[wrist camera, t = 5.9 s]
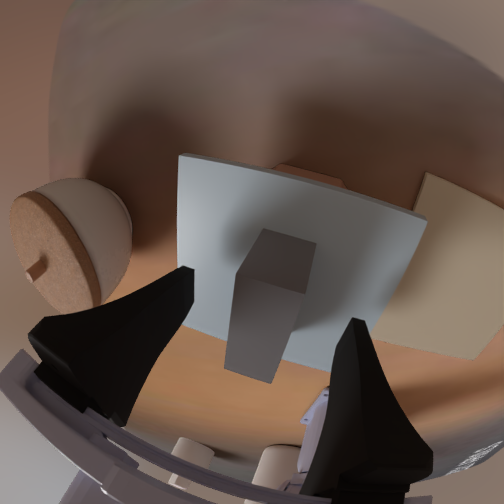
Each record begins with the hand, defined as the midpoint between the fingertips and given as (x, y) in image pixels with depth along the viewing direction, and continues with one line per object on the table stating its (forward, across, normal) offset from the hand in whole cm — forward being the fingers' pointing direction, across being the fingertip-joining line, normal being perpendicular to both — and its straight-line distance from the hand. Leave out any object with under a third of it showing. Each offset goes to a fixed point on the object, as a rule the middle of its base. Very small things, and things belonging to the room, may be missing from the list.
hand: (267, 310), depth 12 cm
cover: (+2, 0, 0) cm, 3 cm away
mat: (+7, -13, 0) cm, 15 cm away
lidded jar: (+7, +16, +3) cm, 18 cm away
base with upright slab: (+7, +8, +59) cm, 60 cm away
